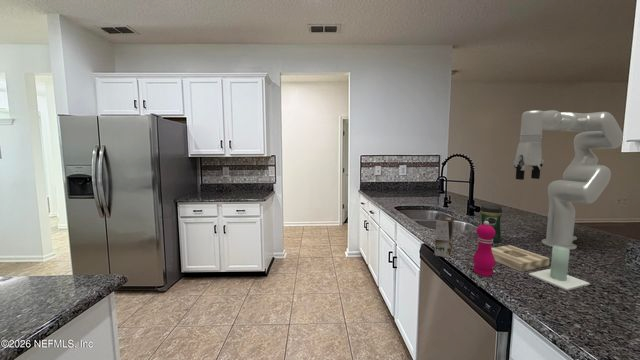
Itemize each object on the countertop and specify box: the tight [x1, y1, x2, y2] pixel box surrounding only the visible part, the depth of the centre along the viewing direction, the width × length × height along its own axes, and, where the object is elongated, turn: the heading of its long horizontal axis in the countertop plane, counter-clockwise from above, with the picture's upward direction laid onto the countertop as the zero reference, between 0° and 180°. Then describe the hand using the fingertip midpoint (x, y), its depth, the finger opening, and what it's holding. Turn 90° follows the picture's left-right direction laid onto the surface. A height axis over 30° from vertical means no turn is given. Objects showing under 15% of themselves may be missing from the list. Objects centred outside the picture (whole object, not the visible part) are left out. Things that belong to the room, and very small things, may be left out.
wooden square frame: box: [491, 244, 550, 272], centre depth 112 cm, size 16×16×3 cm
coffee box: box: [434, 215, 455, 259], centre depth 120 cm, size 9×6×16 cm
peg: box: [550, 246, 570, 281], centre depth 95 cm, size 4×4×11 cm
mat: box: [528, 268, 591, 292], centre depth 96 cm, size 12×12×1 cm
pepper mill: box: [472, 221, 496, 277], centre depth 101 cm, size 7×7×20 cm
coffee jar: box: [479, 203, 503, 243], centre depth 137 cm, size 10×8×19 cm
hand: (527, 179), depth 118 cm, fingers open, 9 cm apart
